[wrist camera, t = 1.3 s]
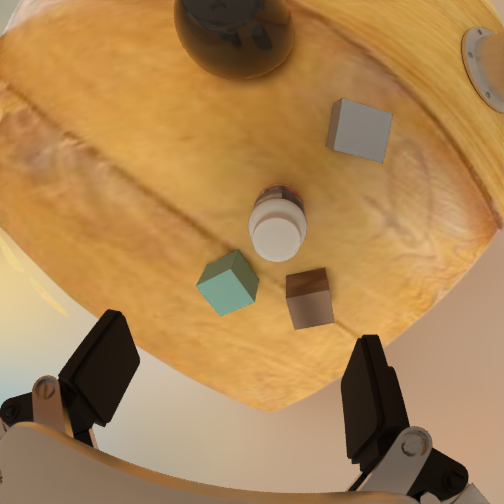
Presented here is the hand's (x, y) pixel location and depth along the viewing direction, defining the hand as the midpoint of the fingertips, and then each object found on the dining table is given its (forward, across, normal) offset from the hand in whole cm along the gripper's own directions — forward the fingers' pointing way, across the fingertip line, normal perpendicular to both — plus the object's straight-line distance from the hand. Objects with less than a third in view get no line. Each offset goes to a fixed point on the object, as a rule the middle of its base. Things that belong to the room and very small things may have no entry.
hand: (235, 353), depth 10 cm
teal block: (+23, +4, +10) cm, 25 cm away
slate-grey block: (+23, -9, -8) cm, 26 cm away
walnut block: (+23, -6, +12) cm, 26 cm away
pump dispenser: (+23, +3, -18) cm, 29 cm away
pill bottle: (+23, -1, +1) cm, 23 cm away
